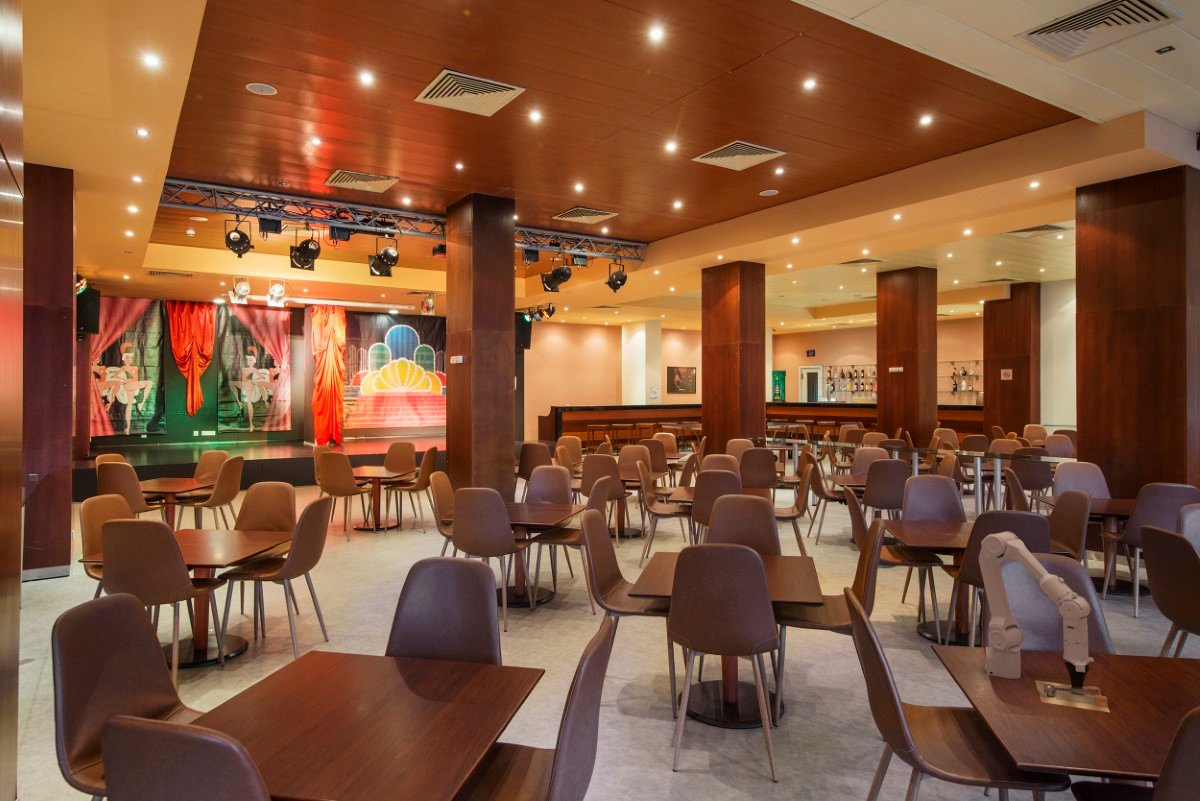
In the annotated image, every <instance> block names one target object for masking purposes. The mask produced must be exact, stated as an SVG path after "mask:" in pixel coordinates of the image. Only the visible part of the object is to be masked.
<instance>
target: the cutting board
mask: <svg viewBox="0 0 1200 801" xmlns="http://www.w3.org/2000/svg"><path fill="white" fill-rule="evenodd" d="M1044 684H1050V685H1055V686H1071V687H1072V685H1071V684H1066V683H1058V682H1050V681H1043V680H1037V679H1035V685H1036V689H1037V692H1038V693H1039V690H1038V688H1044ZM1039 698H1040V702H1041V703H1045V704H1050V705H1051V704H1052V705H1059V706H1065V707H1070V708H1071V707H1073V708H1077V709H1084V710H1092V711H1097V712H1105V713H1111V711H1110V709H1109V707H1101V706H1096V705H1093V704H1086V703H1079V702H1072V701H1066V700H1059V699H1056V695H1055V694H1054V697H1047V698H1044V697H1040V696H1039Z"/></svg>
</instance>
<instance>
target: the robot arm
mask: <svg viewBox="0 0 1200 801" xmlns="http://www.w3.org/2000/svg"><path fill="white" fill-rule="evenodd" d="M980 545H981V549H980V552H979V555H978V563H979V568H980V572H981V576H982V581H983V584H984V585H983V586H984V588H985V594H986V598H987V602H988V606H989V611H990V616H991V619H990V621H989V623H988V629H989V630H988V631H989V632H988V641H989V644H990V645H991V646H985V665H984V671H985V672H986V676H987V675H988V676H993V677H999V678H1005V679H1010V680H1011V679H1012V680H1013V679H1014V680H1015V679H1017V680H1018V679H1020V678H1021V677H1022V676H1021V675H1022V674H1021V670H1022V669H1021V668H1022V666H1021V645H1022V643H1023V642H1024V641H1025V634H1024V632H1023V630H1022V629H1021V628H1020V626H1019V623H1018V621H1017V619H1016V618H1015V617H1014V616H1013V615H1012V612H1011V607H1010V603H1009V600H1008V594H1007V591H1006V586H1005V582H1004V578H1003V574H1002V570H1001V566H1000V565H1001V562H1002V561H1003V560H1004V559H1005V558H1006V559H1012V560H1016V561H1018V562H1019V563H1020V564H1021V565H1022V566H1023V567H1024V568H1025V569H1026V570H1027V571H1028V572H1030V574H1031V575H1033V576H1034V578H1036V579H1037V580H1038V581H1039V582H1038V583H1039V588H1040V589H1041V590H1042V591H1043V592H1044V593H1045V594H1046V595H1047V597H1049V599H1050V600H1051V601H1052V602H1053V603H1054V604H1055V605H1056V606H1057V607H1058V612H1059V614H1060V616H1062V621H1063V622H1062V628H1063V629H1062V630H1063V631H1062V632H1063V633H1062V634H1063V655H1062V656H1063V659H1065V660H1066V661H1064V662H1063V664H1064V666H1065V668H1066V670H1067V673H1068V675H1069V679H1070V680H1069V681H1070V685H1072V687H1084V682H1085V678H1086V676H1087V674H1088V672H1089V671H1090V667H1089V663H1094V662H1095V660H1094V657H1091V656H1089V633H1088V631H1089V628H1088V616H1089V615H1090V613H1091V605H1090V603H1089V601H1087V600H1088V599H1087V598H1084V597H1083V596H1080V595H1078V593H1077V592H1074V591H1073V590H1072V589H1071V588H1070V587H1069V586H1068V585H1067V584H1066V583H1065V580H1064V578H1062V577H1059V576H1058V575H1056V574H1051V573H1049V572H1048V571H1047V570H1046V568H1045V567H1044V566H1043V565H1042V564H1041V563H1040V561H1038V559H1036V557H1035V556H1034V555H1033V554H1032V553H1031V552H1030V550H1029V549H1028V548H1027V547H1026V545H1025V543H1024V542H1023V540H1021V539H1020V538H1019V537H1018V536H1017V535H1016V534H1015V533H1014V532H1011V531H1001V532H999V533H998V532H997V533H990V534H988V535H986V536H985V537H984V538H983V539H982V541H981V542H980Z"/></svg>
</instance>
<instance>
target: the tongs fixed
mask: <svg viewBox="0 0 1200 801" xmlns="http://www.w3.org/2000/svg"><path fill="white" fill-rule="evenodd" d="M1038 690H1039V692H1038V694H1039V698H1040V697H1044V698H1047V697H1054V686H1053V685H1050V684H1044V688H1038V689H1037V691H1038ZM1056 699H1059V700H1066V701H1072V702H1079V703H1086V704H1093V705H1096V706H1101V707H1108V705H1109V704H1108V701H1109V700H1108V697H1107V696H1106V695H1101V696H1100V695H1088V694H1081V693H1074V692H1067V691H1060V690H1056ZM1108 708H1109V707H1108Z"/></svg>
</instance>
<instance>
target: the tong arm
mask: <svg viewBox="0 0 1200 801" xmlns="http://www.w3.org/2000/svg"><path fill="white" fill-rule="evenodd" d="M1053 686H1054V694H1055V695H1056V690H1060V691H1067V692H1074V693H1081V694H1088V695H1100V696H1102V693H1101V689H1100V688H1099V687H1097V686H1095V685H1094V686H1092V685H1086V686H1083V687H1071V686H1055V685H1053Z"/></svg>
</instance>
